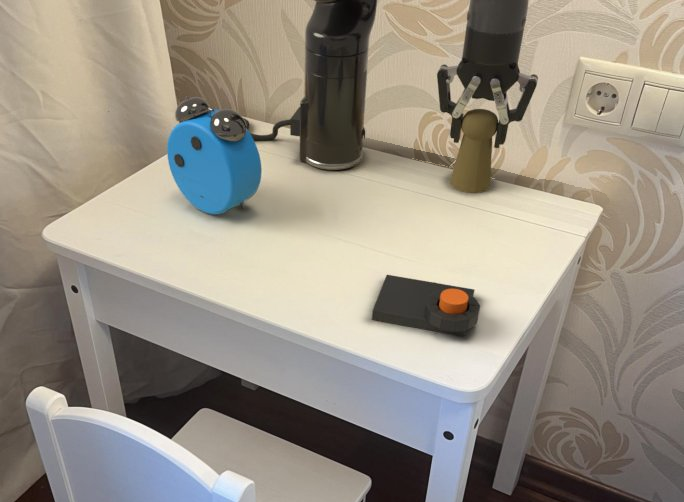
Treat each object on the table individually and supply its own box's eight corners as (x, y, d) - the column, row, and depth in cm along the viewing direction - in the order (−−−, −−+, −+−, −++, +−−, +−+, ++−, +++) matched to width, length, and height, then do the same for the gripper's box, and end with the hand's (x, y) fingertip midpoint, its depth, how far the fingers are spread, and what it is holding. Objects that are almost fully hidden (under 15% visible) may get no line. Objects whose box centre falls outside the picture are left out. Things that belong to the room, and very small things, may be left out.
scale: (369, 326, 98) (370, 305, 96) (385, 283, 104) (387, 263, 102) (472, 345, 95) (476, 324, 93) (482, 300, 102) (486, 279, 100)
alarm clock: (264, 213, 118) (262, 110, 108) (234, 230, 114) (228, 125, 104) (199, 184, 124) (192, 84, 114) (169, 199, 120) (158, 98, 110)
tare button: (436, 312, 95) (438, 301, 94) (441, 297, 98) (442, 286, 97) (464, 317, 95) (466, 306, 94) (468, 301, 97) (470, 291, 96)
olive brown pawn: (452, 171, 127) (463, 101, 120) (492, 176, 126) (505, 106, 119) (447, 189, 123) (457, 118, 116) (488, 195, 122) (501, 123, 114)
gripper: (553, 18, 110) (528, 139, 122) (446, 7, 113) (432, 126, 125) (549, 36, 105) (524, 161, 116) (437, 25, 108) (423, 147, 119)
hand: (476, 142), depth 120 cm, fingers closed on olive brown pawn, 5 cm apart
